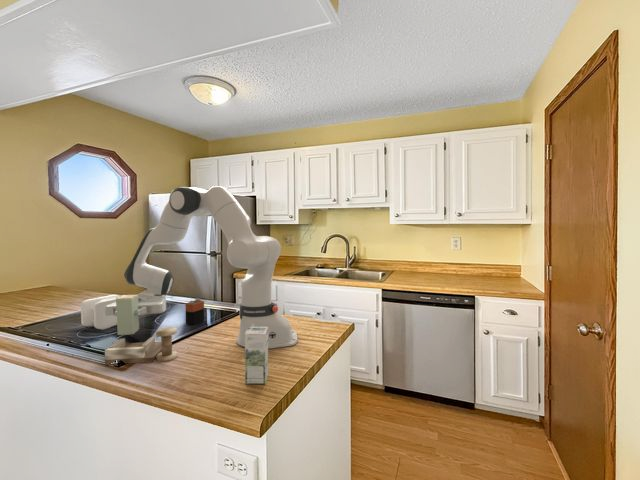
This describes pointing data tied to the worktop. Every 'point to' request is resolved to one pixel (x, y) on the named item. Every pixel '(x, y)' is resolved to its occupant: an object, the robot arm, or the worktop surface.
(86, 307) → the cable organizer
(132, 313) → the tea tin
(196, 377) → the worktop surface
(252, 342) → the syrup box
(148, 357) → the winding board
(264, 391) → the worktop surface
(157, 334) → the bobbin
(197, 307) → the battery
